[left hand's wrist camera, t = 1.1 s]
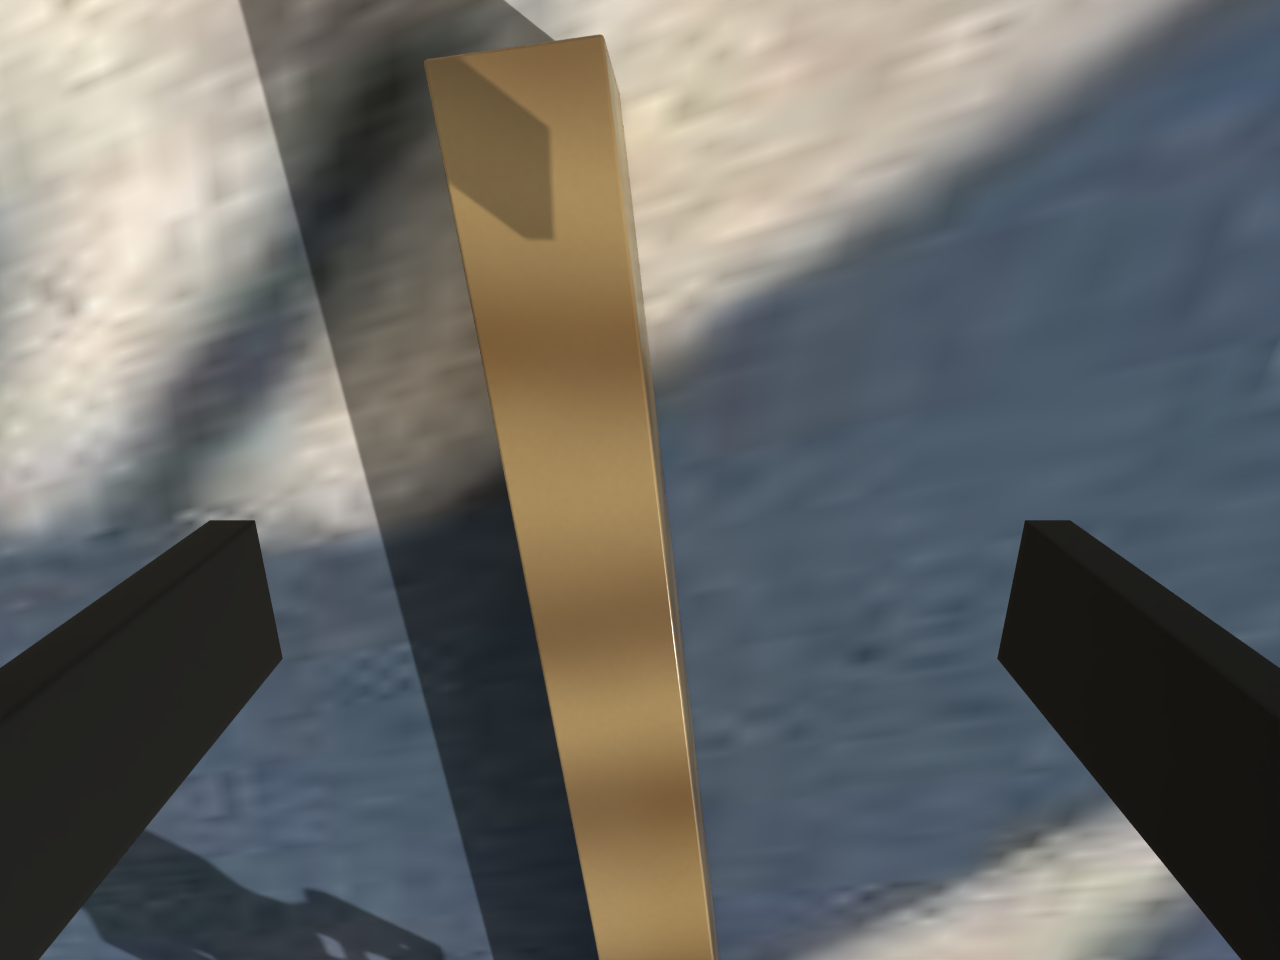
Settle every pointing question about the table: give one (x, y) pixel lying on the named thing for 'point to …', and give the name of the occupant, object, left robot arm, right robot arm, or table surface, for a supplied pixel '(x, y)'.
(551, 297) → the beam
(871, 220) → the table surface
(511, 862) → the table surface
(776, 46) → the table surface
